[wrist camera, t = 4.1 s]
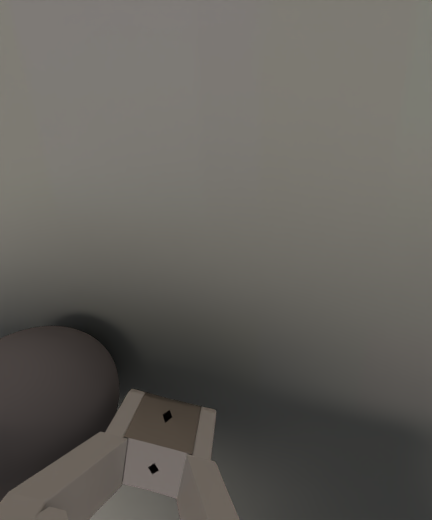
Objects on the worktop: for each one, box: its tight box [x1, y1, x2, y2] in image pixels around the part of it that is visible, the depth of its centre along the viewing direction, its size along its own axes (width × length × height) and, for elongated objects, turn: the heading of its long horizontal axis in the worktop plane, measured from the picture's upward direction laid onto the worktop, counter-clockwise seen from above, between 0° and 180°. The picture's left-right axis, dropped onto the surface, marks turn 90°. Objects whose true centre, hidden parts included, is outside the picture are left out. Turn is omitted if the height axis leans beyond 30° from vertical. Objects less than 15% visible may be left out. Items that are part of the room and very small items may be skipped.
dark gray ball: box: [0, 326, 119, 502], centre depth 8 cm, size 5×5×5 cm
